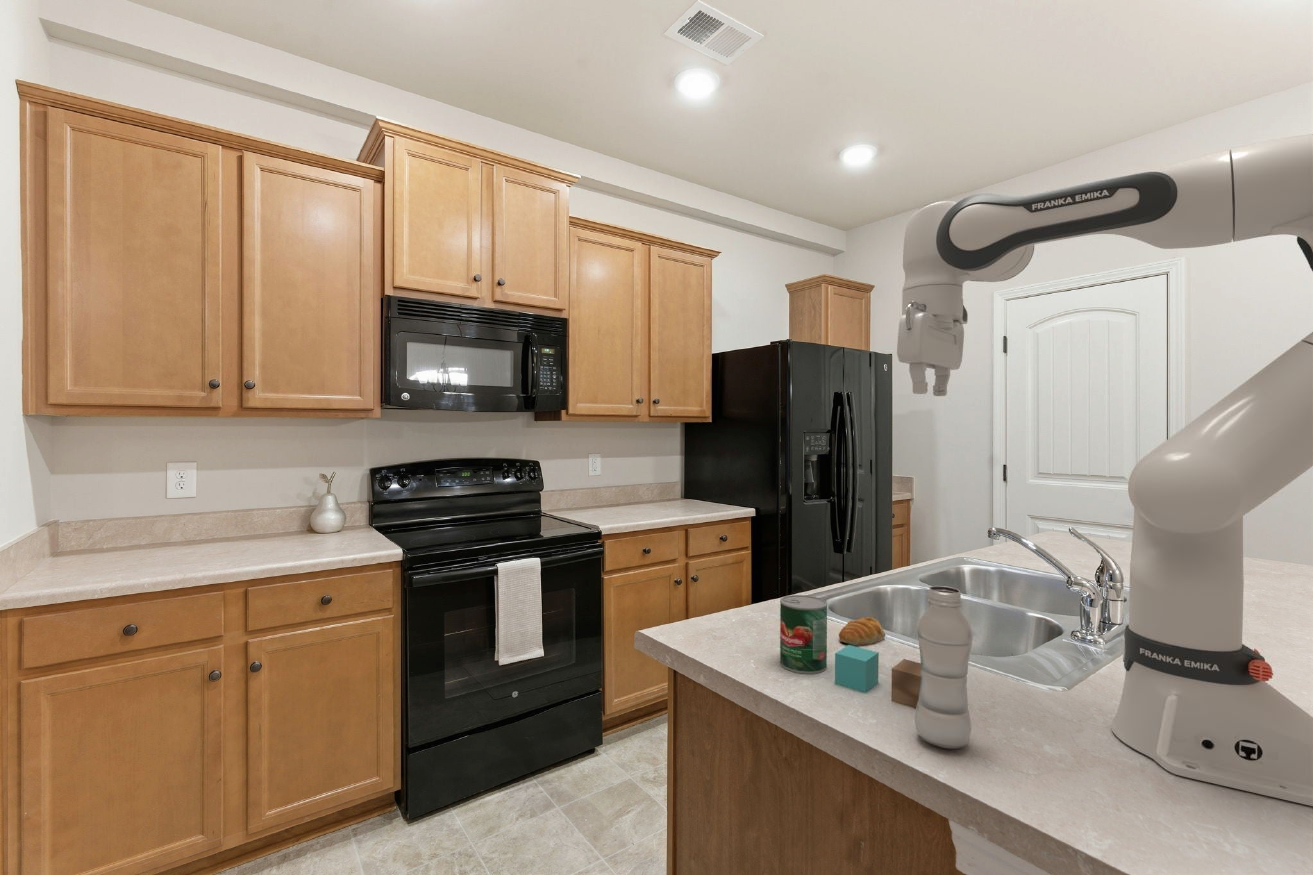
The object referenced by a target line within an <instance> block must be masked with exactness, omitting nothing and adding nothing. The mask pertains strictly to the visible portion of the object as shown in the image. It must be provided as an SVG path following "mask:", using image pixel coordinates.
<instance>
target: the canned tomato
mask: <svg viewBox="0 0 1313 875" xmlns="http://www.w3.org/2000/svg"><path fill="white" fill-rule="evenodd" d="M779 601H780V604H779V605H780V608H779V609H780V610H779V611H780V613H779V614H780V615H779V619H780V620H779V621H780V622H779V626H780V629H779V630H780V633H779V635H780V636H779V638H780V640H779V643H780V645H779V650H780V651H779V657H780V659H779V664H780V666H781V667H782V668H784V669H785V670H786V671H787V670H788V671H789V670H790V671H789V672H793V673H797V674H804V675H815V674H820V673H824V672H825V671H826V670H827V668H828V665H827V662H828V660H827V657H828V654H827V653H828V651H827V650H828V645H827V644H828V641H827V640H828V602H827V601H826V600H824V598H823V599H822V598H820V597H817V596H812V595H804V594H792V595H791V594H790V595H785V596H782V597H781V598H780V600H779Z"/></svg>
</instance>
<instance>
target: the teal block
mask: <svg viewBox="0 0 1313 875" xmlns="http://www.w3.org/2000/svg"><path fill="white" fill-rule="evenodd" d="M879 658H880V657H879V652H878V651H874V650H870V649H866V648H863V647H859V646H855V645H851V644H847V645H846V646H845V647H843V648H841V649H840V650H837V651H836V652H835V654H834V685H837V686H840V687H843V688H848V689H851V690H854V691H857V692H859V693H860V692H861V693H863V694H866V693H867V692H869V691H870V690H872V689H873V688H874V687H875V686H876V685H878V684H879V664H880V663H879Z"/></svg>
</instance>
